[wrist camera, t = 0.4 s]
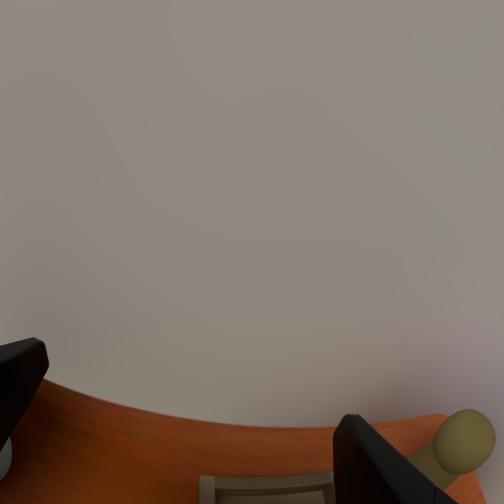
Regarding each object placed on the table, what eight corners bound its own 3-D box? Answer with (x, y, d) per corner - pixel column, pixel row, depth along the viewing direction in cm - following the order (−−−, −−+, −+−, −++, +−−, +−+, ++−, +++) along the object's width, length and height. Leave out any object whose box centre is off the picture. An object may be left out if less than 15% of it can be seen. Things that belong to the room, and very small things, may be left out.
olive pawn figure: (412, 462, 19) (482, 391, 15) (430, 507, 14) (516, 444, 9) (363, 475, 18) (436, 404, 14) (379, 528, 13) (472, 473, 8)
